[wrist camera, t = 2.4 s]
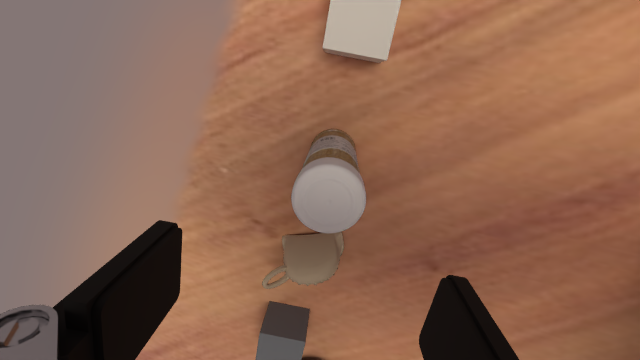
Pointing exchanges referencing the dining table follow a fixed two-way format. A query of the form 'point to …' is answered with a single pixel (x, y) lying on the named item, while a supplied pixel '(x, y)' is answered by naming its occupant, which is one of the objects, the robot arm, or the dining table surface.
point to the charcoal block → (283, 332)
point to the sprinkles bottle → (329, 185)
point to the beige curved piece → (308, 258)
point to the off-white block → (361, 28)
